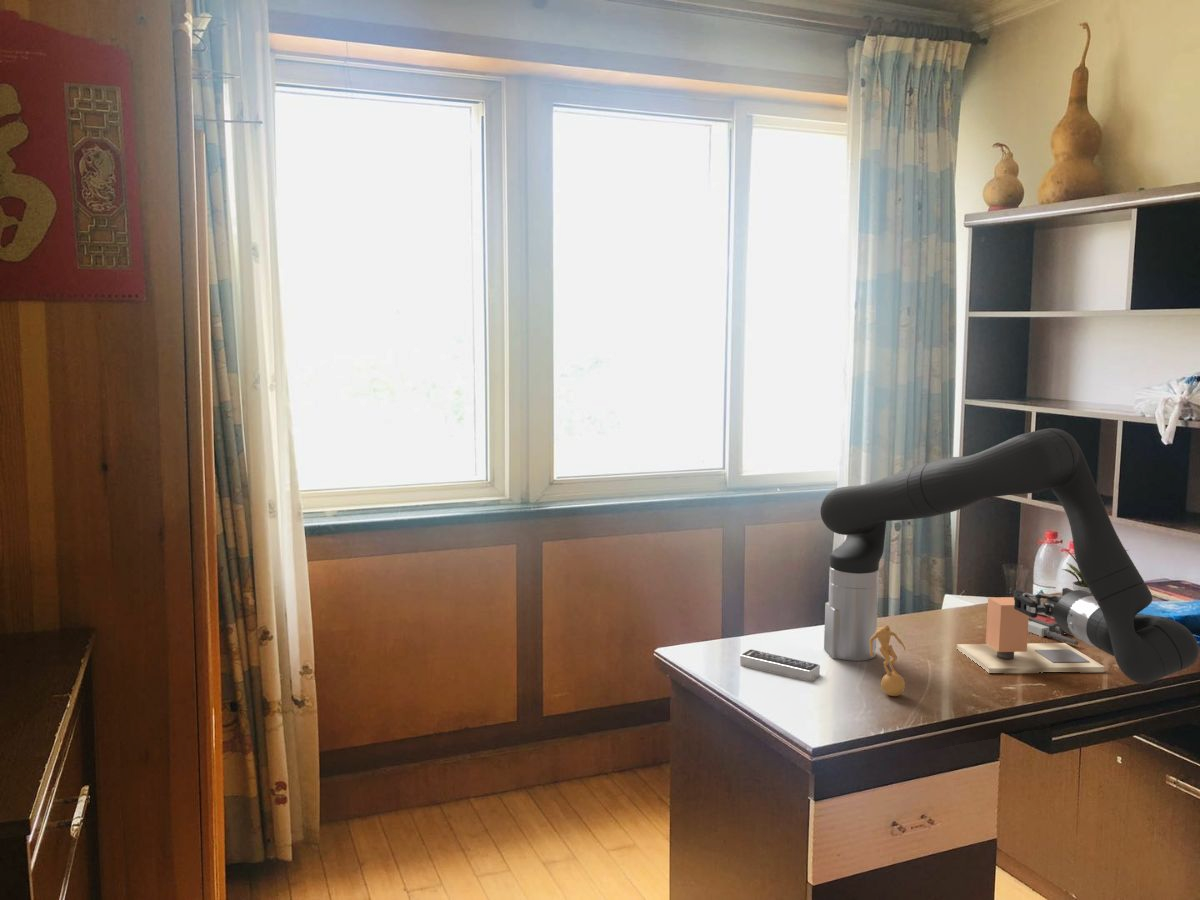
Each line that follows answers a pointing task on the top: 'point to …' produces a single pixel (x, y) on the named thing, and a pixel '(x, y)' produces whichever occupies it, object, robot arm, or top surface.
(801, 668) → the multiport hub
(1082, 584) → the house plant
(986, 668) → the post stand
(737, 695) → the top surface
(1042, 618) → the walkie-talkie
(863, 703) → the top surface
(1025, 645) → the tall salmon pillar
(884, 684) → the figurine
